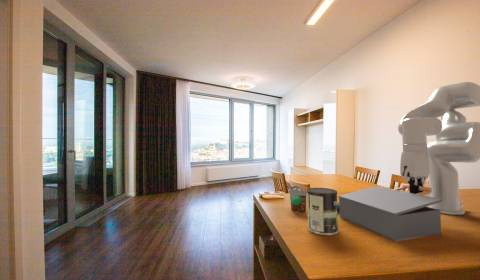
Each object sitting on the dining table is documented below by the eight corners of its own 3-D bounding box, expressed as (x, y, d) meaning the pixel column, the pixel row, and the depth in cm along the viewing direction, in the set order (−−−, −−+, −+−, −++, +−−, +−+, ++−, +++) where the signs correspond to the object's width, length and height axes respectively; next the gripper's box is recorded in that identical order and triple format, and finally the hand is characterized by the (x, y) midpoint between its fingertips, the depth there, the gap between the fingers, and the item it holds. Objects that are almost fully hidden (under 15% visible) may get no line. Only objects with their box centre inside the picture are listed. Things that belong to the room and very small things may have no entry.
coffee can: (337, 226, 79) (336, 188, 80) (339, 237, 70) (338, 194, 70) (308, 223, 83) (307, 186, 83) (306, 233, 73) (305, 192, 74)
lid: (389, 184, 97) (388, 180, 97) (456, 197, 73) (455, 191, 73) (338, 197, 90) (338, 192, 89) (395, 216, 66) (394, 209, 66)
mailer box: (377, 212, 94) (377, 194, 94) (441, 234, 71) (440, 210, 71) (339, 217, 89) (339, 198, 89) (395, 242, 66) (394, 216, 66)
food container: (285, 206, 106) (285, 186, 106) (297, 205, 107) (297, 185, 107) (293, 214, 94) (293, 191, 94) (307, 213, 94) (306, 190, 95)
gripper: (419, 147, 91) (421, 191, 90) (390, 149, 87) (392, 194, 86) (439, 148, 84) (441, 195, 83) (409, 149, 79) (411, 198, 79)
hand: (416, 194), depth 85 cm, fingers closed on lid
